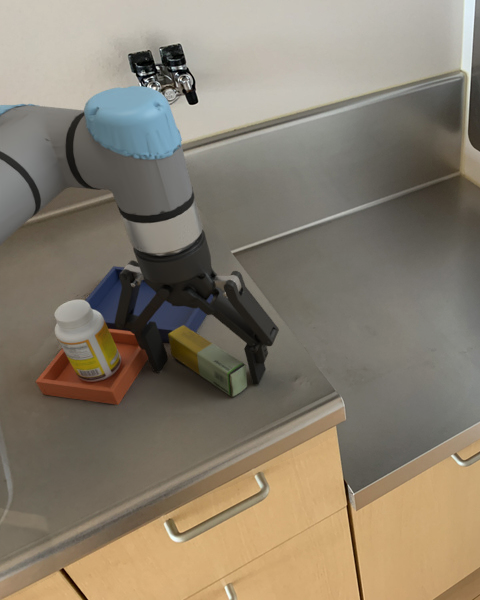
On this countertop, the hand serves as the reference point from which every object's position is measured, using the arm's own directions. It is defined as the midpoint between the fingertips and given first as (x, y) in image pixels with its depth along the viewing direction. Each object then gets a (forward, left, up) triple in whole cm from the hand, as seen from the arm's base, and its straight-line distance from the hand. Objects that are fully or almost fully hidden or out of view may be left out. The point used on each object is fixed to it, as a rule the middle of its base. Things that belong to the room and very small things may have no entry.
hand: (209, 370), depth 80 cm
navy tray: (-13, +10, 0) cm, 16 cm away
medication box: (0, 0, 0) cm, 0 cm away
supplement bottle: (-14, -2, 0) cm, 14 cm away
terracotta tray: (-14, -2, 0) cm, 14 cm away
